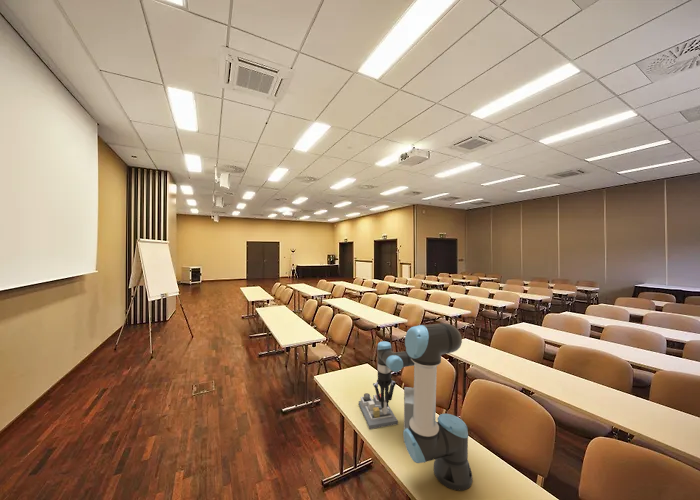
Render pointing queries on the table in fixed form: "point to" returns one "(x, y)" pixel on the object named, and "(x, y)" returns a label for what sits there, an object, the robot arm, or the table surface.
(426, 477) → the table surface
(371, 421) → the panel
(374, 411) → the slider brass
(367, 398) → the button black
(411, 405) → the hard drive box
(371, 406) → the slider white
